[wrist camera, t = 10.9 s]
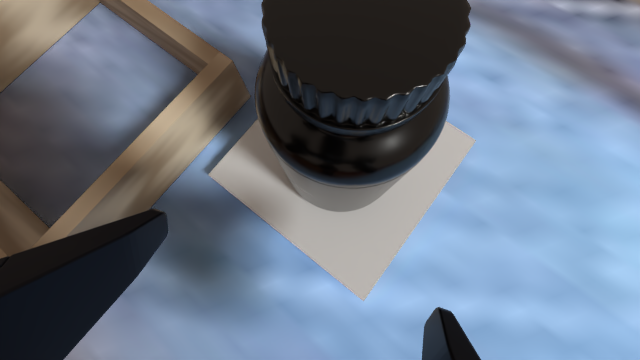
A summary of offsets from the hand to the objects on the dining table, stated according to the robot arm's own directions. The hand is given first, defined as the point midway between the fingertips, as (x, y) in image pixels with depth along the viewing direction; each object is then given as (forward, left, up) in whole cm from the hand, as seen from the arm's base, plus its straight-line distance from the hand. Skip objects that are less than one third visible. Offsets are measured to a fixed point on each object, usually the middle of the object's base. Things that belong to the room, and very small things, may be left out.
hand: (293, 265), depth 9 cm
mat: (+6, +2, -9) cm, 11 cm away
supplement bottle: (+6, +2, -8) cm, 10 cm away
